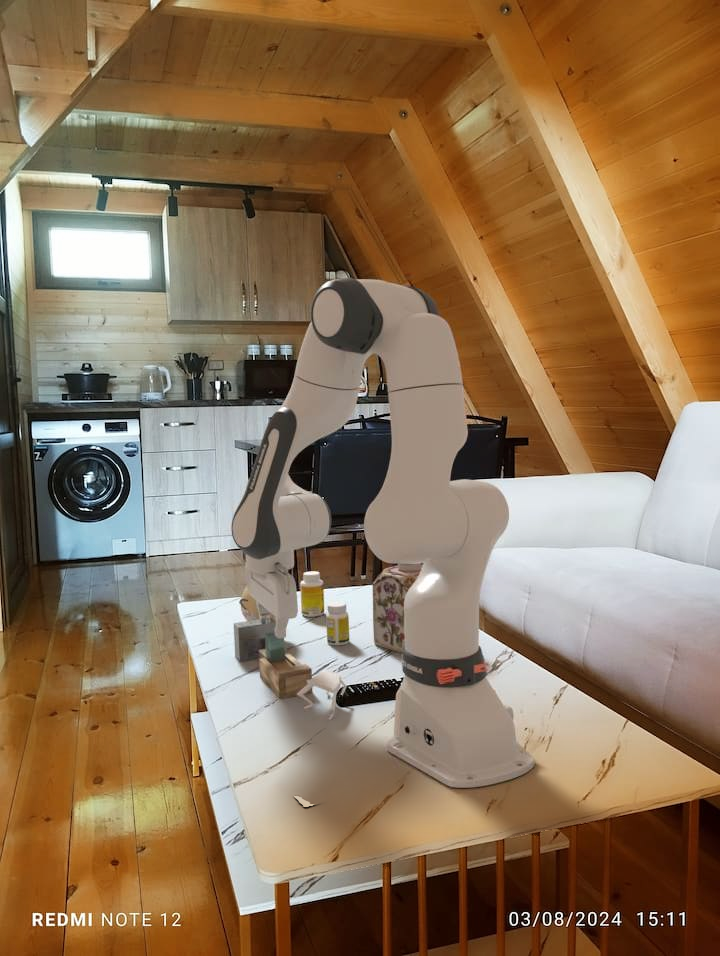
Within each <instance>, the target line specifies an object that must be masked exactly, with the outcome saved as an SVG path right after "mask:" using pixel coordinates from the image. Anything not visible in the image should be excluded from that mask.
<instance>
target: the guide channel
mask: <svg viewBox="0 0 720 956" xmlns="http://www.w3.org/2000/svg"><path fill="white" fill-rule="evenodd" d="M285 659H286V660H287V661H288V662H289V663H290V664H292V665H293V666H290V667H284V668H279V669H276V668H275V667H274V666H273V665H272V664H271V663H270V662H269V661H268V660H267V659H266V658H261V659H258V662H259V678H260V679H261V681H263V682H264V683H265V684H266V685H267V686H268V688H269V689H271V691H272V692H273V693H274V694H275V695H276V696H277V697H278V698H279V699H280V700H282V699H287V698H293V697H298V695H297V693H298V692H299V691H300V690H301V689H302V688H304V687H305V686H306V685H307V681H306V680H310V679H312V678H313V676H312V675H313V671H312V668H311V667H310V666H309V665H308V664H307V663H301V662H300V661H299V660H298V659H296V658H295V656H293V655H292V654H291V653H285ZM307 694H313V687H312V688H311V689H310V690H308V691H307V692H306V693H305V694H304V695H307Z"/></svg>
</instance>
